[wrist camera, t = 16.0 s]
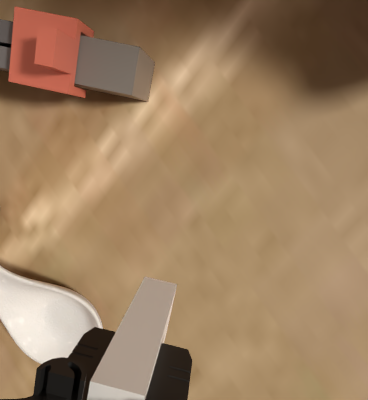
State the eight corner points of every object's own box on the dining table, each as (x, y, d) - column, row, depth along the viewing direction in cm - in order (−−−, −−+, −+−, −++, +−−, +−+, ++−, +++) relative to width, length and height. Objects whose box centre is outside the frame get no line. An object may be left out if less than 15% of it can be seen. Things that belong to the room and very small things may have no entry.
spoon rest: (127, 326, 46) (110, 361, 39) (64, 366, 48) (38, 406, 42) (16, 186, 44) (-23, 197, 37) (-44, 235, 46) (-91, 254, 39)
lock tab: (94, 31, 34) (59, 4, 27) (85, 97, 36) (49, 89, 28) (37, 20, 35) (-12, -10, 27) (31, 86, 36) (-18, 75, 29)
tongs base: (156, 53, 38) (141, 35, 31) (148, 101, 39) (131, 95, 32) (-104, 1, 40) (-174, -27, 33) (-105, 49, 41) (-172, 32, 34)
